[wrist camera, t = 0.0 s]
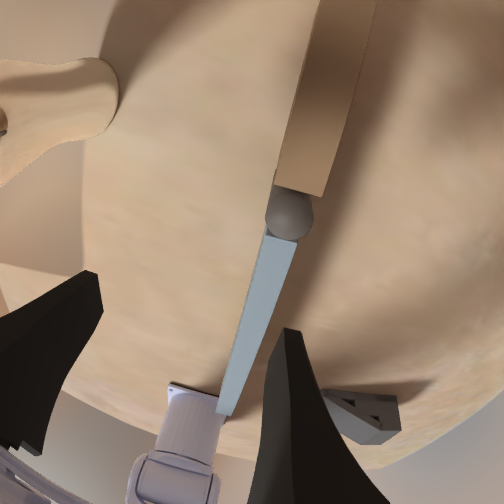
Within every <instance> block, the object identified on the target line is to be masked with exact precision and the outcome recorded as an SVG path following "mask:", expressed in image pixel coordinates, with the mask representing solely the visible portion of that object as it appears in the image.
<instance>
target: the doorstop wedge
mask: <svg viewBox="0 0 504 504" xmlns="http://www.w3.org/2000/svg"><path fill="white" fill-rule="evenodd" d="M320 392H321V395H322V397H323V400H324V402H325V404H326V407H327V409H328V411H329V413H330V416H331V418H332V420H333V422H334V424H335V426H336V428H337V429H338V431H339V433H341V434H343V435H344V436H346V437H348V438H350V439H351V440H353V441H355V442H356V443H358V444H360V445H381V444H383V443H384V442H386V441H387V440H389V439H390V438H392V437H393V436H395V435H396V434H397V433H399V432H400V431H402V429H401V422H400V416H399V410H398V404H397V398H396V396H392V395H378V394H366V393H356V392H347V391H338V390H331V389H323V388H322V390H321V391H320Z"/></svg>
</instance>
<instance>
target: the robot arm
mask: <svg viewBox="0 0 504 504" xmlns="http://www.w3.org/2000/svg"><path fill="white" fill-rule="evenodd" d="M103 312H104V310H103V304H102V299H101V293H100V287H99V281H98V274H96V273H93V272H90V271H87V270H84V271H82V272H80V273H79V274H77V275H75V276H73V277H72V278H70V279H68V280H67V281H65V282H63V283H62V284H60V285H58V286H57V287H55V288H53V289H52V290H50V291H48V292H47V293H45V294H44V295H42V296H40V297H38V298H37V299H35V300H33V301H31V302H30V303H28V304H26V305H24V306H23V307H21V308H19V309H17V310H15V311H13V312H11V313H9V314H7V315H5V316H3V317H1V318H0V504H51V501H50V500H49V499H48V498H47V497H49V498H51V499H52V500H54V501H55V502H57V503H59V504H92V503H90V502H88V501H86V500H84V499H82V498H80V497H78V496H76V495H74V494H73V493H71V492H69V491H67V490H65V489H64V488H62V487H60V486H58V485H57V484H55V483H53V482H52V481H50V480H48V479H47V478H45V477H44V476H42V475H41V474H39V473H38V472H36V471H35V470H33V469H32V468H30V467H29V466H27V465H26V464H25V463H23V462H22V461H21V460H19V459H18V458H16V457H15V456H14V455H13V454H11V453H10V452H9V451H8V450H9V448H10V446H11V447H13V448H14V449H15V450H18V449H19V447H20V446H21V447H23V448H24V449H25V450H27V451H28V452H30V453H31V454H33V455H34V456H39V455H42V450H43V445H44V440H45V435H46V431H47V427H48V423H49V420H50V416H51V413H52V410H53V408H54V405H55V402H56V399H57V397H58V394H59V392H60V389H61V387H62V385H63V382H64V380H65V378H66V376H67V375H68V373H69V371H70V369H71V368H72V366H73V364H74V363H75V361H76V359H77V358H78V356H79V355H80V353H81V352H82V350H83V348H84V347H85V345H86V344H87V342H88V340H89V339H90V337H91V336H92V334H93V332H94V331H95V329H96V327H97V325H98V323H99V320H100V318H101V316H102V314H103ZM167 388H168V409H167V411H166V414H165V417H164V420H163V423H162V426H161V429H160V432H159V435H158V438H157V441H156V444H155V447H154V450H150V452H149V454H145V453H144V454H142V455H140V456H138V457H137V459H136V460H135V462H134V464H133V467H132V469H131V472H130V476H129V480H128V490H127V493H126V497H125V500H126V504H146V503H145V502H144V501H143V500H146V501H149V502H152V503H155V504H217V501H218V497H219V492H220V486H221V479H220V478H219V476H218V475H217V474H215V473H213V474H212V472H213V467H212V465H213V460H214V456H215V452H216V447H217V443H218V438H219V434H220V429H221V428H222V426H223V423H224V421H225V418H226V415H222V414H218V413H215V411H216V407H217V403H218V399H219V397H215V396H211V395H208V394H204V393H200V392H197V391H193V390H190V389H186V388H183V387H179V386H176V385H173V384H168V387H167ZM15 475H17V476H18V477H20V478H21V479H22V480H24V481H25V482H26V483H28V484H29V485H31V486H32V487H34V488H35V489H34V488H32V487H31V486H29V485H27V484H26V483H24V482H22V481H20V480H18V479H16V478H15ZM36 489H37V490H36ZM39 491H40V492H41V493H40V492H39ZM42 493H43V494H44V495H46V496H47V497H45V496H44V495H43V494H42ZM247 504H390V502H389V501H388V500H387V499H386V498H385V497H384V495H383V494H382V493H381V492H380V491H379V490H378V489H377V488H376V486H375V485H374V484H373V483H372V482H371V480H370V479H369V478H368V476H366V474H365V473H364V471H363V470H362V468H361V467H360V465H359V464H358V462H357V461H356V459H355V458H354V456H353V455H352V453H351V452H350V450H349V449H348V447H347V446H346V444H345V442H344V440H343V439H342V437H341V435H340V433H339V431H338V429H337V428H336V426H335V424H334V422H333V420H332V418H331V416H330V413H329V411H328V409H327V407H326V404H325V402H324V400H323V397H322V395H321V392H320V390H319V387H318V384H317V381H316V379H315V376H314V373H313V370H312V367H311V364H310V361H309V358H308V354H307V351H306V347H305V344H304V340H303V336H302V333H301V331H298V330H293V329H288V328H283V330H282V332H281V335H280V337H279V339H278V341H277V344H276V346H275V348H274V350H273V352H272V355H271V357H270V359H269V362H268V368H267V373H266V379H265V385H264V399H263V414H262V428H261V439H260V447H259V452H258V457H257V463H256V467H255V472H254V477H253V481H252V486H251V490H250V494H249V498H248V502H247Z"/></svg>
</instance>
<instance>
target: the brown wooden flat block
mask: <svg viewBox="0 0 504 504" xmlns="http://www.w3.org/2000/svg"><path fill="white" fill-rule="evenodd" d="M376 4H377V0H320V2H319V6H318V9H317V12H316V15H315V19H314V23H313V27H312V31H311V35H310V39H309V43H308V47H307V50H306V54H305V58H304V62H303V66H302V70H301V74H300V77H299V81H298V85H297V89H296V93H295V97H294V101H293V104H292V108H291V112H290V116H289V120H288V124H287V128H286V131H285V135H284V139H283V143H282V147H281V151H280V155H279V160H278V165H277V169H276V171H275V174H274V178H273V183H272V187H271V192H270V197H269V201H268V206H267V210H266V215H265V221H266V225H267V227H268V229H269V230H270V231H271V233H272V234H274V235H275V236H277V237H279V238H281V239H285V240H294V239H298V238H301V237H302V236H304V235H305V234H307V233H308V231H309V230H310V228H311V226H312V224H313V212H312V205H311V198H310V194H311V195H315V196H318V197H322V195H323V192H324V189H325V186H326V183H327V180H328V177H329V174H330V171H331V168H332V165H333V161H334V158H335V155H336V152H337V149H338V146H339V142H340V139H341V136H342V133H343V129H344V126H345V123H346V119H347V116H348V113H349V109H350V106H351V102H352V99H353V95H354V92H355V88H356V84H357V81H358V77H359V73H360V70H361V66H362V62H363V58H364V54H365V51H366V47H367V43H368V39H369V34H370V30H371V26H372V22H373V18H374V13H375V9H376Z"/></svg>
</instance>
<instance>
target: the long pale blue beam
mask: <svg viewBox="0 0 504 504" xmlns="http://www.w3.org/2000/svg"><path fill="white" fill-rule="evenodd" d="M297 244H298V239H294V240H285V239H281V238H279V237H277V236H275V235H274V234H272V233H271V231H270V230H269V229H268V227H267V225H266V227H265V230H264V234H263V238H262V241H261V245H260V249H259V252H258V256H257V260H256V263H255V267H254V271H253V274H252V278H251V282H250V285H249V289H248V292H247V296H246V300H245V303H244V307H243V311H242V314H241V318H240V321H239V325H238V329H237V332H236V336H235V339H234V343H233V347H232V350H231V354H230V357H229V361H228V364H227V368H226V372H225V375H224V379H223V382H222V386H221V390H220V394H219V399H218V403H217V407H216V411H215V413H218V414H222V415H226V416H231V415H232V413H233V411H234V408H235V406H236V403H237V401H238V399H239V396H240V394H241V391H242V389H243V387H244V384H245V382H246V379H247V377H248V374H249V372H250V369H251V367H252V364H253V362H254V359H255V357H256V354H257V352H258V349H259V347H260V344H261V342H262V339H263V336H264V334H265V331H266V329H267V326H268V323H269V321H270V318H271V315H272V313H273V310H274V307H275V305H276V302H277V299H278V297H279V294H280V291H281V288H282V286H283V283H284V280H285V277H286V275H287V272H288V269H289V266H290V263H291V261H292V258H293V255H294V252H295V249H296V246H297Z"/></svg>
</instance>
